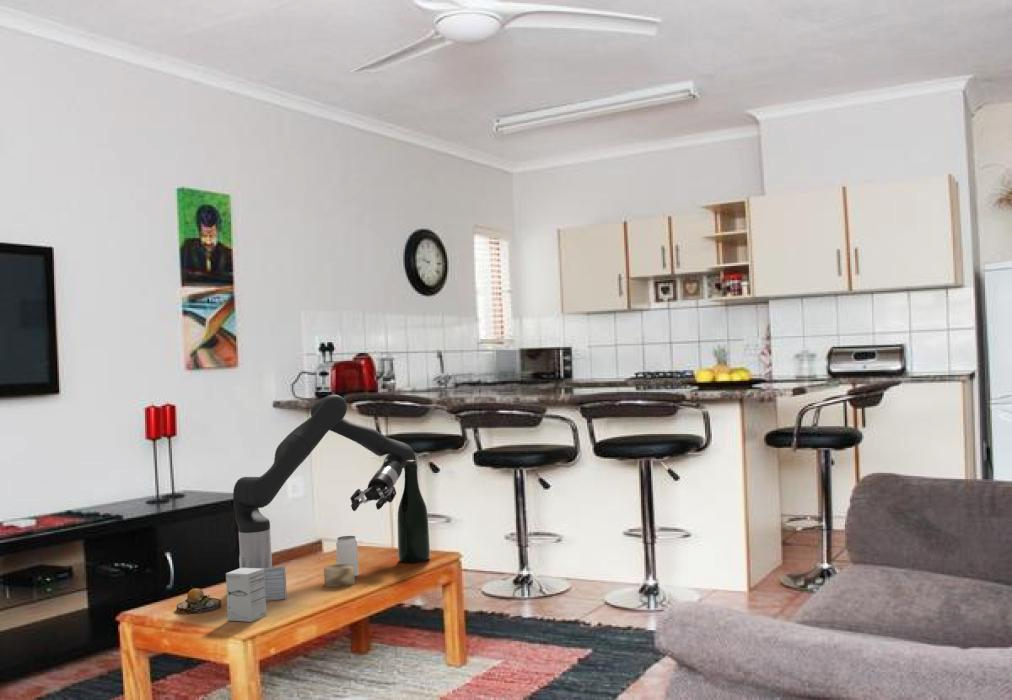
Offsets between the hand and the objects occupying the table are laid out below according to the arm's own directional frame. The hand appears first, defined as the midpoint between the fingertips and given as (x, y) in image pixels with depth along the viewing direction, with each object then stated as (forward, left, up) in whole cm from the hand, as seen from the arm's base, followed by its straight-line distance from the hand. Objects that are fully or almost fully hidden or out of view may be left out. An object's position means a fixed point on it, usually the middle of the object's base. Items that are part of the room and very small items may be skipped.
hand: (365, 507), depth 305 cm
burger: (-53, -21, -20) cm, 60 cm away
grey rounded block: (-12, -14, -20) cm, 27 cm away
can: (-8, -5, -20) cm, 22 cm away
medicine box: (-33, -22, -20) cm, 44 cm away
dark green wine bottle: (+17, +6, -20) cm, 27 cm away
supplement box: (-42, -40, -20) cm, 61 cm away
